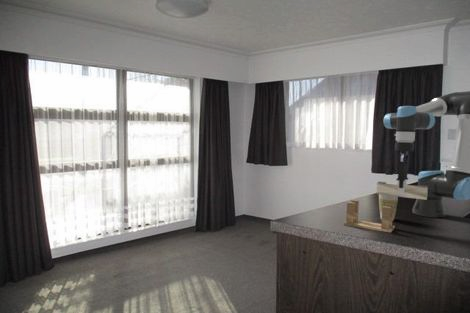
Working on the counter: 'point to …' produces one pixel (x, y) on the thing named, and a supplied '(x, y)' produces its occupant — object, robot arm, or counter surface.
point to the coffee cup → (387, 200)
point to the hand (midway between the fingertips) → (401, 194)
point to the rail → (410, 192)
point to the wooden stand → (384, 226)
